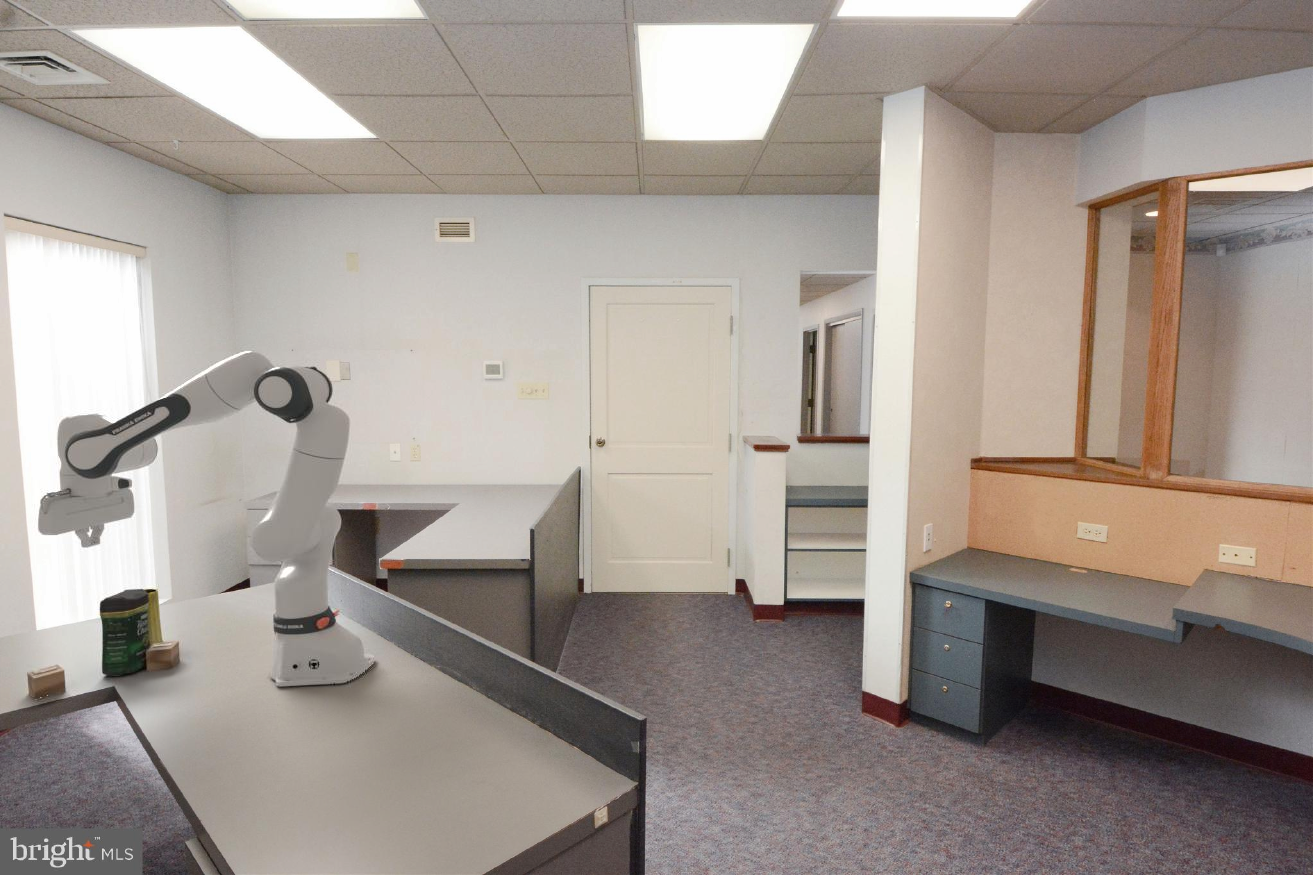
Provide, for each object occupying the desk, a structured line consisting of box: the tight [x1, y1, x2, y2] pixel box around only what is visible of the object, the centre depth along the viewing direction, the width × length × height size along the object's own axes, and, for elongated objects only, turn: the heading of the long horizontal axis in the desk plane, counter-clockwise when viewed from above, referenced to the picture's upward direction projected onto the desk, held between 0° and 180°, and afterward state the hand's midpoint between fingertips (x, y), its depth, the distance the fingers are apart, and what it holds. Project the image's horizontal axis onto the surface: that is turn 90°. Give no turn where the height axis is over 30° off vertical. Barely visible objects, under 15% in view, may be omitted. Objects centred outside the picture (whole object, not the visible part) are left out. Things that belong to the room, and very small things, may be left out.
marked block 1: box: [26, 664, 67, 700], centre depth 143 cm, size 5×5×5 cm
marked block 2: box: [146, 640, 181, 672], centre depth 157 cm, size 5×5×5 cm
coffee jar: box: [99, 588, 151, 677], centre depth 155 cm, size 10×8×19 cm
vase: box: [144, 588, 164, 646], centre depth 169 cm, size 6×6×14 cm
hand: (90, 545), depth 148 cm, fingers closed
